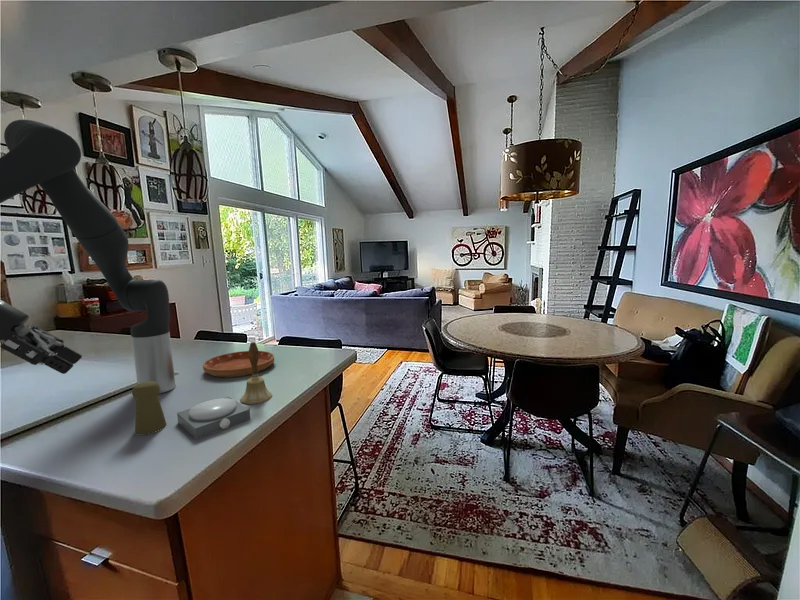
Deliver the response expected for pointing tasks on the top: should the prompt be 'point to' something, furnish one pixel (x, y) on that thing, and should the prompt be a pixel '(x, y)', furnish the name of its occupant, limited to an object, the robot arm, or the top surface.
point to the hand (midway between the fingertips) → (74, 364)
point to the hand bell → (255, 381)
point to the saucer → (236, 364)
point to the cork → (148, 408)
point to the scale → (212, 416)
